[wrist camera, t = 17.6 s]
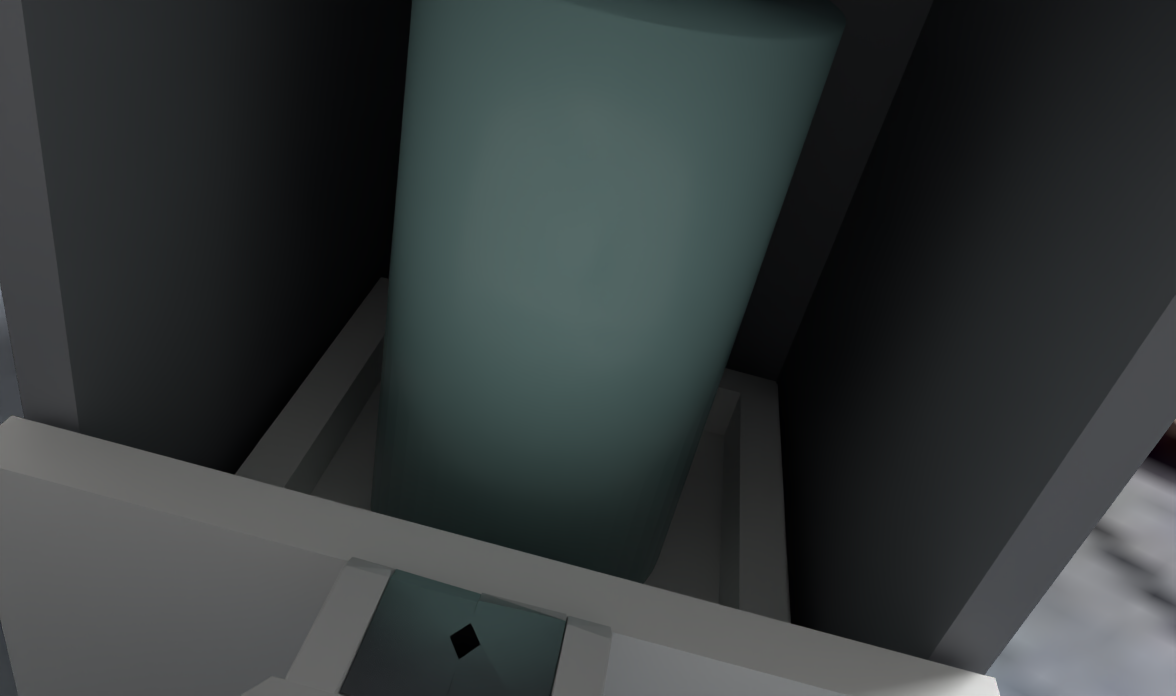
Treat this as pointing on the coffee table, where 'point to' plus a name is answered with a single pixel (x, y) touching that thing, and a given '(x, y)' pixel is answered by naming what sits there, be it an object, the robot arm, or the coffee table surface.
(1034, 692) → the coffee table surface
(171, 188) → the housing
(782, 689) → the tray
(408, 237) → the sage green cylinder
